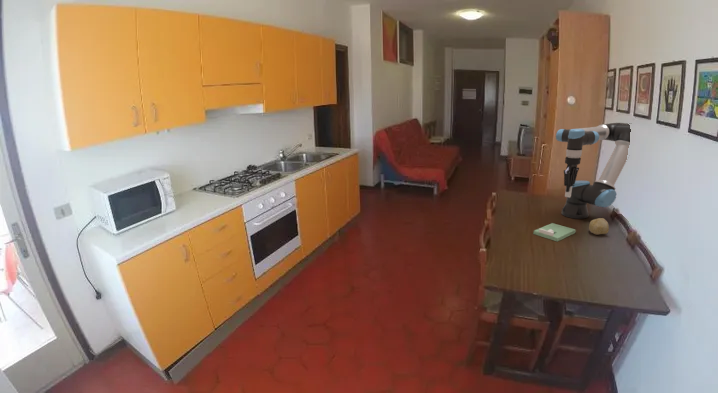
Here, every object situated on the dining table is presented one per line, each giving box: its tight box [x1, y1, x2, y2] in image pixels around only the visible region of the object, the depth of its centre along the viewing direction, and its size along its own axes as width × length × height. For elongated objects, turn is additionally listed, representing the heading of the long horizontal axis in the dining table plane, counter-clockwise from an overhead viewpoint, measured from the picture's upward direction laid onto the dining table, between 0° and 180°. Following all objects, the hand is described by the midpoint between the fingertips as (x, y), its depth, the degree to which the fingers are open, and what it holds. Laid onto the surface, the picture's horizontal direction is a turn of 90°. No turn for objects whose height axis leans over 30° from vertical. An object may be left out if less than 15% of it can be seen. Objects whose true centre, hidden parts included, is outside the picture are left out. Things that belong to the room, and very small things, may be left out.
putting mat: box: [533, 222, 577, 242], centre depth 211 cm, size 20×14×4 cm
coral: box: [588, 217, 610, 236], centre depth 208 cm, size 10×10×10 cm
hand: (567, 196), depth 211 cm, fingers closed
